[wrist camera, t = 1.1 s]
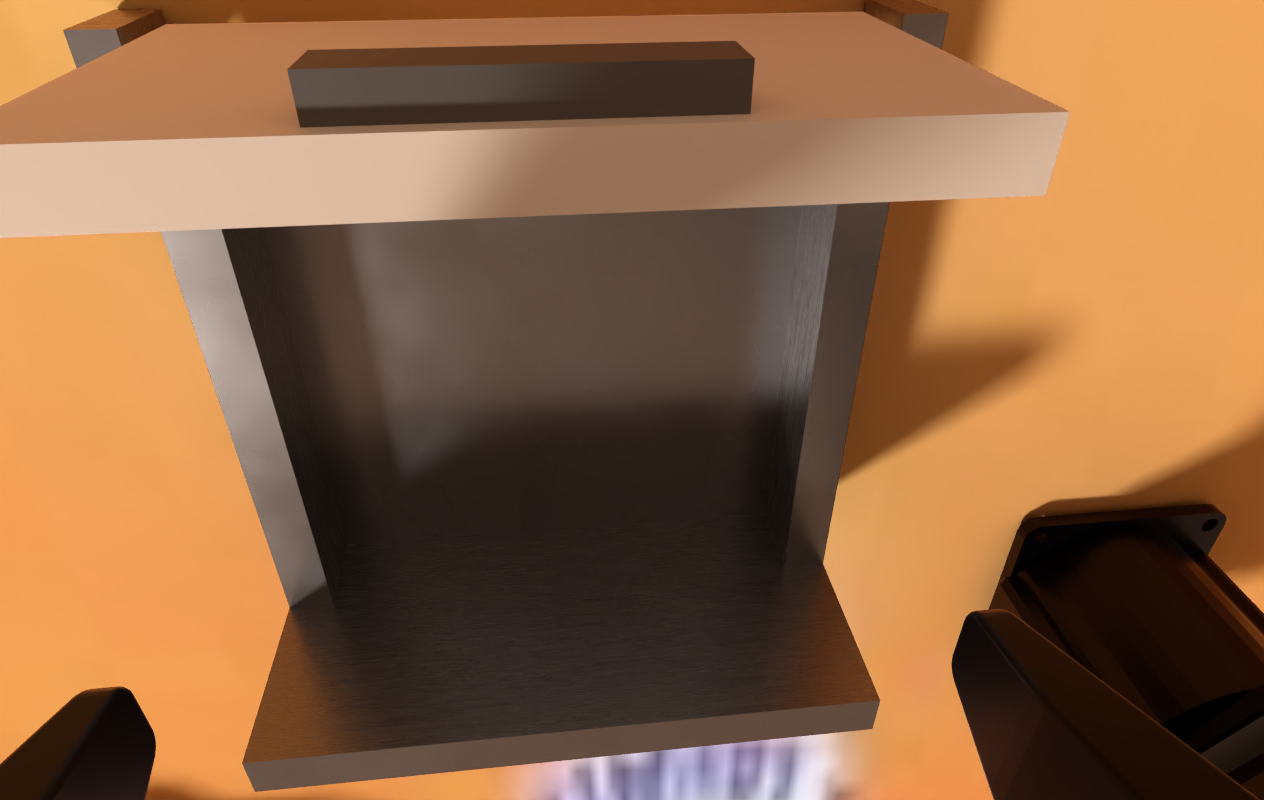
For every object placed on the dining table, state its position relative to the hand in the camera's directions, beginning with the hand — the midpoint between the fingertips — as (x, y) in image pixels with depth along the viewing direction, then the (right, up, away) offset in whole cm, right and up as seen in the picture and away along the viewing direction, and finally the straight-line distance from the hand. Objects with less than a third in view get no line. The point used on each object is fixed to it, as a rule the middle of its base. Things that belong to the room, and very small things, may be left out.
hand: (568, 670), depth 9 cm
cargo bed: (-1, +4, +11) cm, 12 cm away
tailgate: (-1, +10, +6) cm, 11 cm away
